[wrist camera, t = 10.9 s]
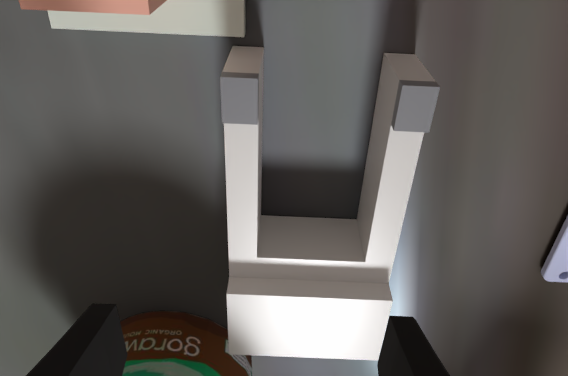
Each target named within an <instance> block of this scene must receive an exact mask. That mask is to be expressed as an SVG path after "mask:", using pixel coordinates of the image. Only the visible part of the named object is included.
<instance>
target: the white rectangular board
mask: <svg viewBox="0 0 568 376" xmlns="http://www.w3.org/2000/svg"><path fill="white" fill-rule="evenodd" d="M47 11H48V15H49V19H50V23H51V28H57V29H78V30H99V31H121V32H142V33H163V34H185V35H206V36H228V37H244V36H245V33H246V17H245V0H167V1H166V2H164V3H163V4H162V5H161V6H160V7H159V8H157V9H156V10H155V11H154V12H153V13H151V14H150V15H138V14H116V13H94V12H72V11H50V10H47Z"/></svg>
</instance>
